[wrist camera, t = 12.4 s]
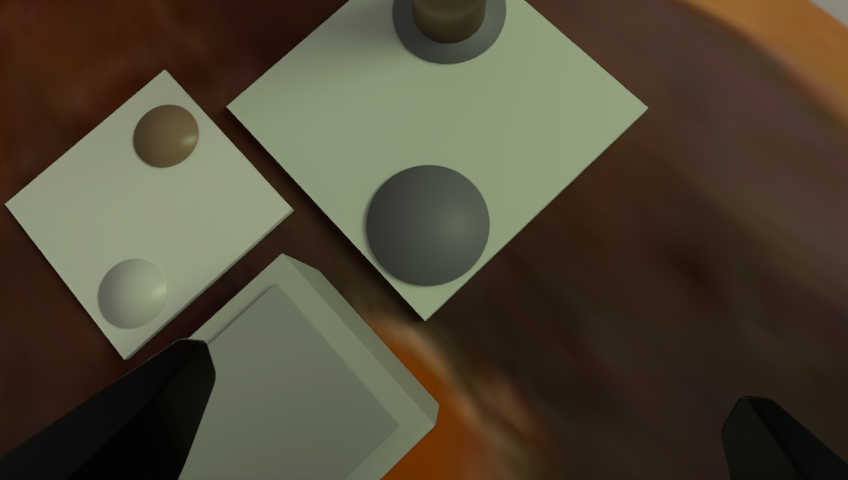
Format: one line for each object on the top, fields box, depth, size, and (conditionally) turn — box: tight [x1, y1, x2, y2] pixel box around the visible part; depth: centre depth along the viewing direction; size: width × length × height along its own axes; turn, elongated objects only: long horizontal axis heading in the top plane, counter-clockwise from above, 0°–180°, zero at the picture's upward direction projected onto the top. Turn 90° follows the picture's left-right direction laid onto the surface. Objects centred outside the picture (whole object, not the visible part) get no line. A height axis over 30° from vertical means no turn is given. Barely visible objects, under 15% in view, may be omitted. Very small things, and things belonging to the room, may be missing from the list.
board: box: [226, 0, 648, 321], centre depth 24 cm, size 14×14×1 cm
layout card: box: [5, 70, 294, 360], centre depth 24 cm, size 10×10×1 cm
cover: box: [178, 253, 439, 480], centre depth 19 cm, size 8×8×5 cm
